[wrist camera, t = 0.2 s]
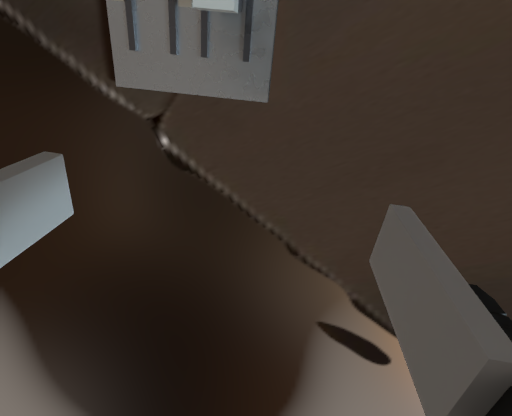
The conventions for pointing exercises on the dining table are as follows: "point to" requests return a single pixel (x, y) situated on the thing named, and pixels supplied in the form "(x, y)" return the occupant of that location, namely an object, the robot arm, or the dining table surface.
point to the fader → (219, 5)
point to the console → (193, 47)
